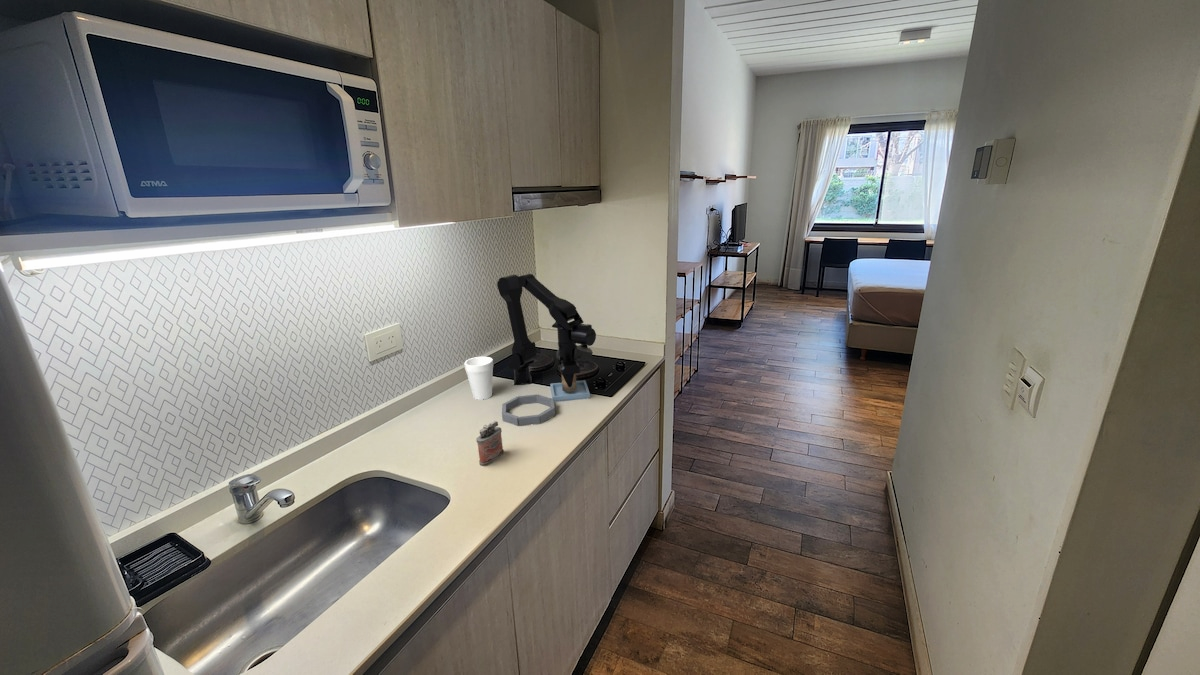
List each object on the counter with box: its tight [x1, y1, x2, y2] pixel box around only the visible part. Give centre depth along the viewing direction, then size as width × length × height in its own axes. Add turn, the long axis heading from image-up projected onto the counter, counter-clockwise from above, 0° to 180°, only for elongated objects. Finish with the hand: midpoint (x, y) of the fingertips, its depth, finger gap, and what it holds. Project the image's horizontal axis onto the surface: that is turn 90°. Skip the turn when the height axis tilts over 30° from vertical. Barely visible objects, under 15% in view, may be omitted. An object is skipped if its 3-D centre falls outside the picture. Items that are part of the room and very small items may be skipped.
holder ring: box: [501, 393, 556, 427], centre depth 156 cm, size 16×16×2 cm
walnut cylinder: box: [560, 373, 577, 392], centre depth 168 cm, size 5×5×7 cm
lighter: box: [475, 420, 505, 467], centre depth 130 cm, size 8×3×10 cm, turn 148°
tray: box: [549, 380, 591, 403], centre depth 169 cm, size 12×13×2 cm
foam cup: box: [463, 356, 494, 401], centre depth 168 cm, size 10×9×13 cm
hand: (569, 383), depth 168 cm, fingers closed on walnut cylinder, 5 cm apart
